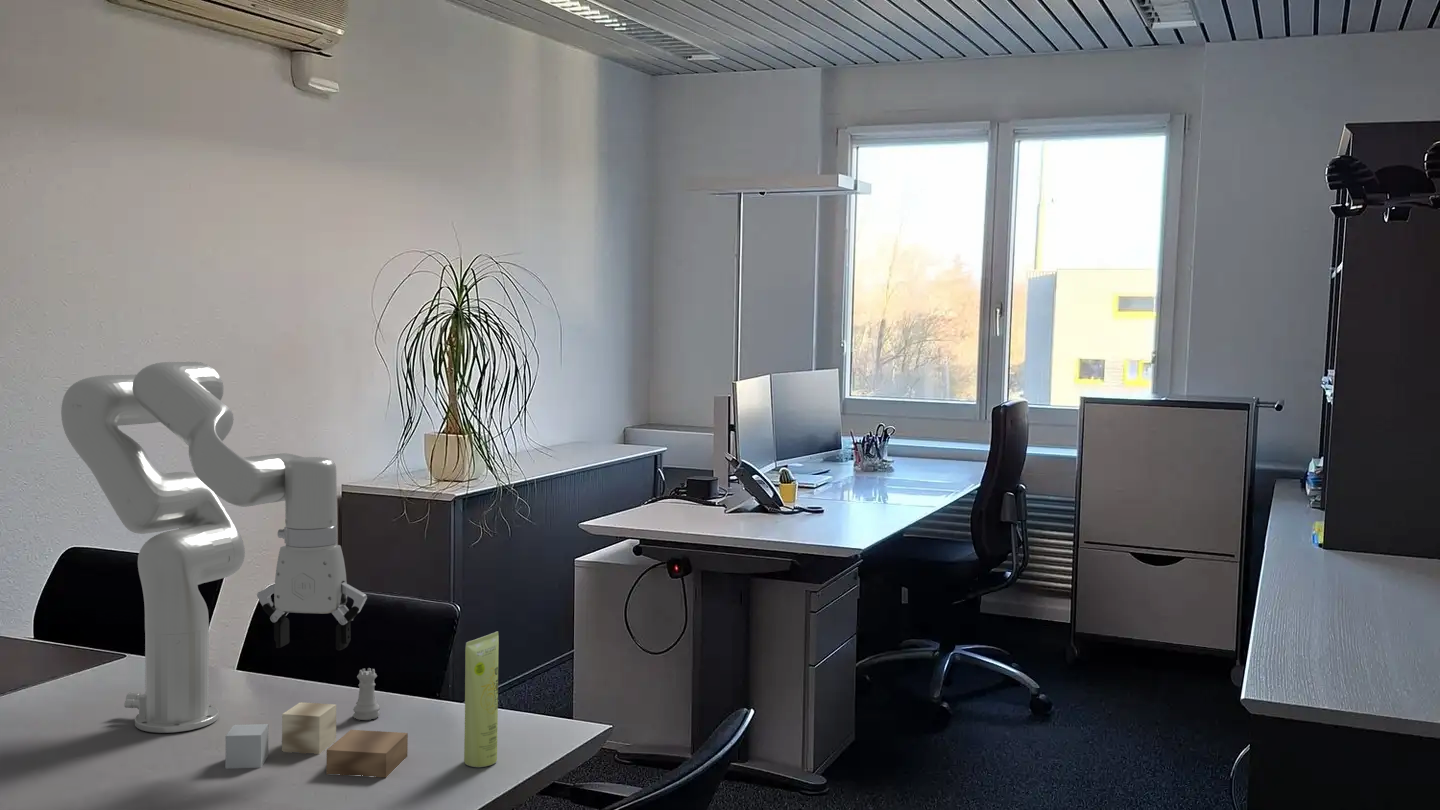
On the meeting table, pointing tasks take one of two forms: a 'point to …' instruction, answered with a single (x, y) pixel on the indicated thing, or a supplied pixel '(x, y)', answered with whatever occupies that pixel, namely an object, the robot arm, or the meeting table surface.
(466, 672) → the tube
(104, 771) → the meeting table surface
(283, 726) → the birch block
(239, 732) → the grey block
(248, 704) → the meeting table surface
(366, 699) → the rook chess piece
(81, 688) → the meeting table surface
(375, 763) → the walnut block
